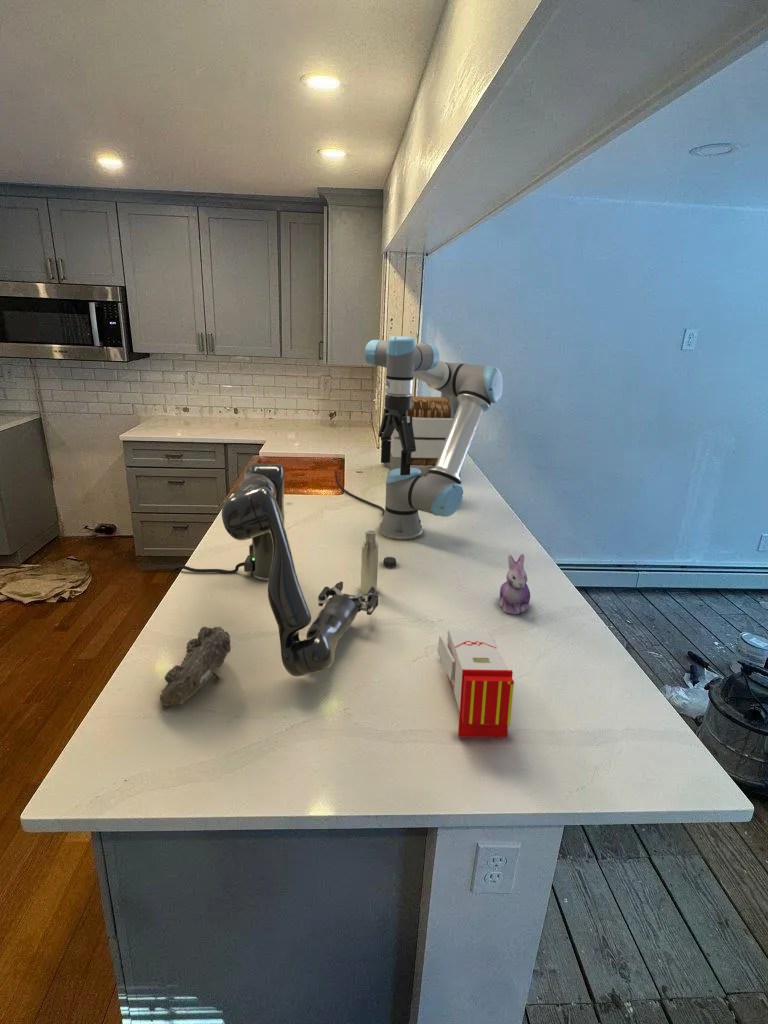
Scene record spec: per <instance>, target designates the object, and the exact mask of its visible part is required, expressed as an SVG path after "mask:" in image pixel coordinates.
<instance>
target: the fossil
mask: <svg viewBox="0 0 768 1024" xmlns="http://www.w3.org/2000/svg"><path fill="white" fill-rule="evenodd" d="M231 648H232V647H231V635H230V633H229V631H225V630H224V628H223V627H222V626H215V627H214V626H213V627H212V628H211V627H207V626H202V627H200V629H199V631H198V633H197V637H195V638H191V639H189V640H188V641H187V643H186V654H185V656H184V657H183V660H182V661H181V663H180V665H178V664H177V665H174V666H173V667H172V668H171V669H170V670H168V672H166V673H165V675H164V678H163V679H164V681H165V682H166V683H167V684H166V685H165V687H164V688H162V689H161V690H160V694H159V700H160V703H161V705H165V706H167V707H173V706H178V705H183V704H184V703H185V702H186V701H187V700H188V699H190V697H192V696H193V695H194V694H195V693H196V692H197V691H199V690H200V689H201V688H202V687H203V686H204V685H205V684H206V682H207V681H208V679H209V678H210V677H212V675H213V677H215V678H216V680H220V679H221V677H219V675H218V674H216V672H215V671H216V669H217V668H220V667H221V666H222V665H223V663H224V661H225V658H226V657H227V655H228V654H229V653H230V652H231Z"/></svg>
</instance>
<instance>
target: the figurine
mask: <svg viewBox="0 0 768 1024" xmlns="http://www.w3.org/2000/svg"><path fill="white" fill-rule="evenodd" d="M507 561H508V562H507V563H508V571H507V573H506V576H505V578H506V581H505V582H504V583H503V584H501V586H500V588H499V589H500V590H499V598H498V605H499V607H500V608H501V609H502V611H503V612H504V613H507V614H511V615H518V614H519V613H525V612H526V611H527V609H528V607H529V604H530V601H531V591H530V588H529V585H528V584H527V582H528V575H527V571H526V570H525V568H524V567H525V566H524V563H525V554H524V553H521V554H520V555H519V557H518V558H517V560H515V559H514V557H513V556H512V555H511V554H509V555H508V556H507Z"/></svg>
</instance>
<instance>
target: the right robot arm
mask: <svg viewBox="0 0 768 1024" xmlns="http://www.w3.org/2000/svg"><path fill="white" fill-rule="evenodd" d="M440 358H441V356H440V350H439V349H438V347H437V346H436V345H435V344H433V343H429V342H423V343H420V342H419V343H418V342H416V339H415V338H414V337H413V336H401V335H400V336H399V335H398V336H395V335H394V336H390V337H389V338H388V339H387V340H385V339H384V340H383V339H372V340H370V341H368V342H367V344H366V346H365V350H364V359H365V361H366V362H367V364H369V365H370V366H375V367H382V368H386V374H385V383H384V386H385V390H384V391H385V396H384V408H383V414H382V415H383V416H382V420H381V423H380V427H379V429H378V434H377V436H378V438H380V441H381V447H380V463H381V464H383V463H390V452H391V441H388V440H392V439H391V436H392V434H393V431H394V429H396V431H397V432H398V434H399V438H400V441H401V445H402V449H403V450H402V451H401V468H398V469H394V470H391V471H390V470H388V472H387V475H386V480H385V504H384V505H385V507H384V508H385V509H384V508H383V507H382V506H380V505H378V504H376V503H373V502H370V501H369V500H366V499H364V498H361V497H359V496H357V495H355V494H353V493H351V492H349V491H348V490H346V489H345V488H344V487H343V486H342V485H341V484H340V482H339V479H338V471H337V470H335V471H334V476H335V477H334V478H335V483H336V485H337V487H338V488H339V489H340V490H342V491H343V492H344V493H345V494H347V495H348V496H350V497H352V498H354V499H356V500H358V501H360V502H363V503H365V504H367V505H370V506H372V507H375V508H377V509H379V510H380V511H382V515H381V516H382V519H381V522H379V526H378V533H379V534H380V535H381V536H382V537H385V538H387V539H389V540H395V541H410V540H415V539H418V538H420V537H421V536H422V535H423V525H422V524H421V522H422V521H421V518H420V515H419V511H420V512H424V513H427V514H431V515H433V516H437V517H443V518H447V517H450V516H452V515H453V514H455V513H456V512H457V510H458V509H459V508H460V506H461V504H462V502H463V499H464V496H463V495H464V487H463V486H462V479H461V476H460V477H459V474H460V471H461V472H462V469H463V466H464V463H465V461H466V458H467V455H468V453H469V450H470V447H471V445H472V442H473V440H474V437H475V435H476V432H477V430H478V426H479V423H480V421H481V418H482V416H483V413H484V412H487V411H489V410H490V407H491V405H492V404H495V403H496V404H497V403H498V402H499V401H500V400H501V398H502V395H503V387H504V383H503V380H504V379H503V376H502V373H501V371H500V369H498V368H497V367H494V366H489V365H479V364H469V363H463V362H462V363H461V362H446V361H443V360H440ZM414 379H415V380H417V381H420V382H423V383H425V384H426V385H427V386H428V387H430V388H431V389H433V390H435V391H438V392H440V393H441V392H443V393H445V394H447V395H450V396H453V397H457V400H458V402H459V405H458V408H457V411H456V413H455V416H454V418H453V421H452V424H451V426H450V429H449V431H448V434H447V436H446V439H445V442H444V444H443V447H442V449H441V452H440V455H439V457H438V460H437V462H436V465H435V466H433V467H432V468H429V469H428V471H427V473H426V476H425V475H422V470H421V469H420V468H417V467H412V466H411V453H412V452H415V451H416V446H415V439H414V433H413V426H412V416H407V414H406V411H407V410H410V409H411V406H412V397H411V396H412V394H413V391H414V390H413V389H414ZM460 475H461V474H460Z"/></svg>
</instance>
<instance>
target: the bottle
mask: <svg viewBox="0 0 768 1024" xmlns="http://www.w3.org/2000/svg"><path fill="white" fill-rule="evenodd" d="M376 536H377V532H376V530H366V531H365V540H364V542H363V543H362V544H361V562H360V563H361V564H360V594H361V593H362V594H367V593H368V591H369V590H370V588H371V587H374V589H376V593H377V592H378V591H377V590H378V567H379V544H378V542H377V539H376V538H377V537H376Z"/></svg>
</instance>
